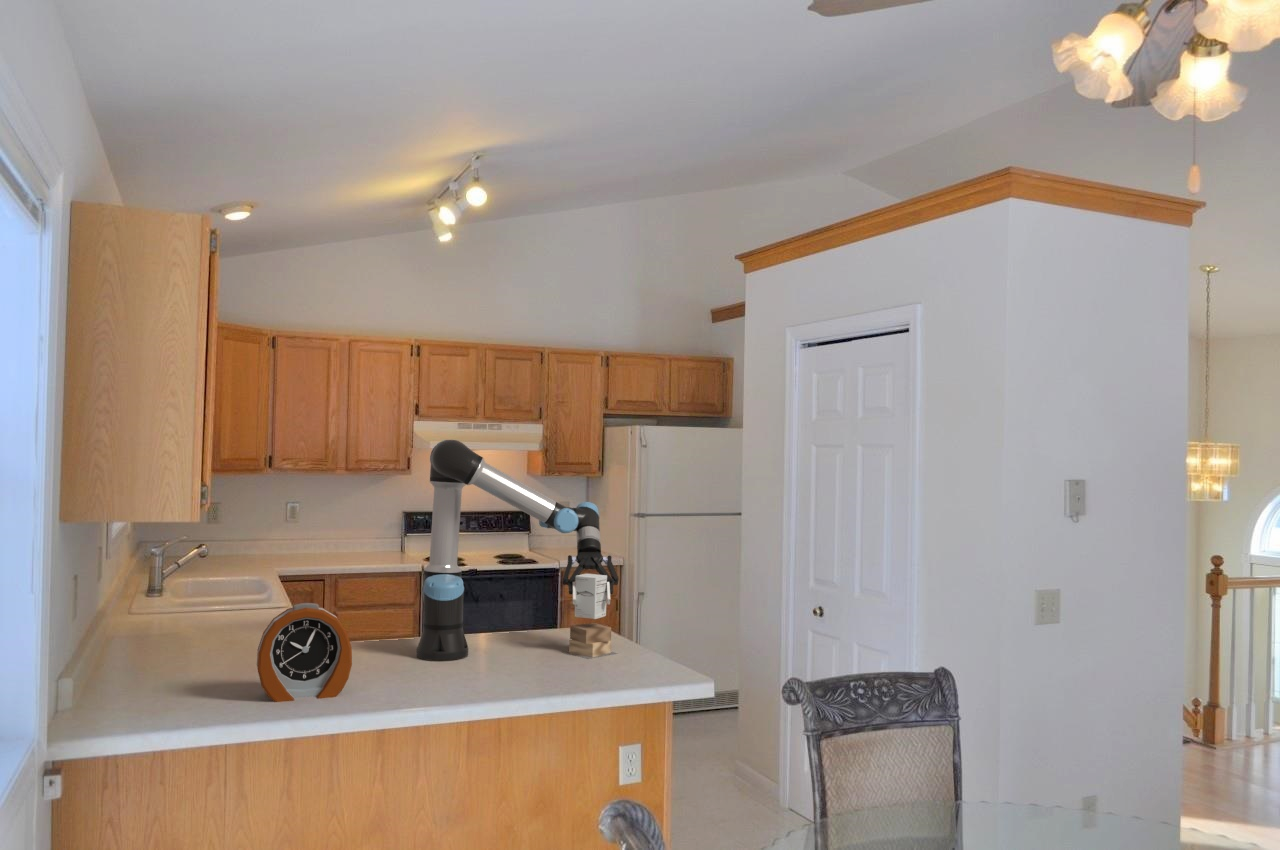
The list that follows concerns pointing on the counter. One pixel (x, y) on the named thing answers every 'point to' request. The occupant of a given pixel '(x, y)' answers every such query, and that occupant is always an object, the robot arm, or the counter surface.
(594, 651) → the bottom block
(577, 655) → the slate mat
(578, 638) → the top block
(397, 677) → the counter surface
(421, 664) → the counter surface
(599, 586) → the supplement box
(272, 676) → the alarm clock
